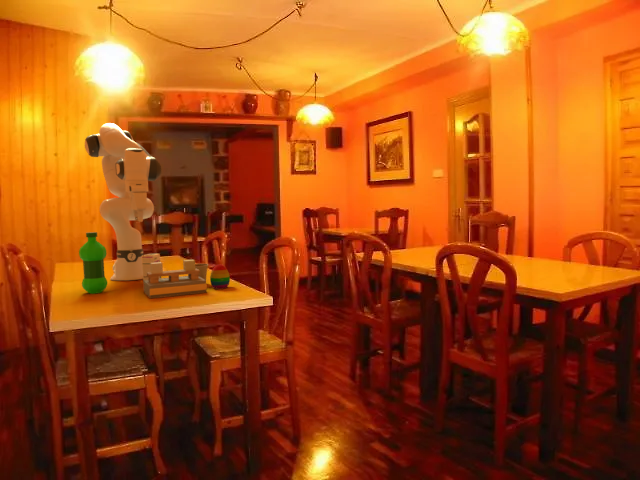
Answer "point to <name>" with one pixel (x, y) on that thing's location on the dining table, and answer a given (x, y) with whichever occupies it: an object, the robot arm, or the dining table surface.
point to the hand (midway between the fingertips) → (138, 221)
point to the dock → (174, 287)
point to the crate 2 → (189, 265)
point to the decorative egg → (219, 277)
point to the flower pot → (202, 270)
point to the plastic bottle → (93, 264)
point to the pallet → (173, 275)
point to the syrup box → (146, 263)
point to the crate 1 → (156, 267)
